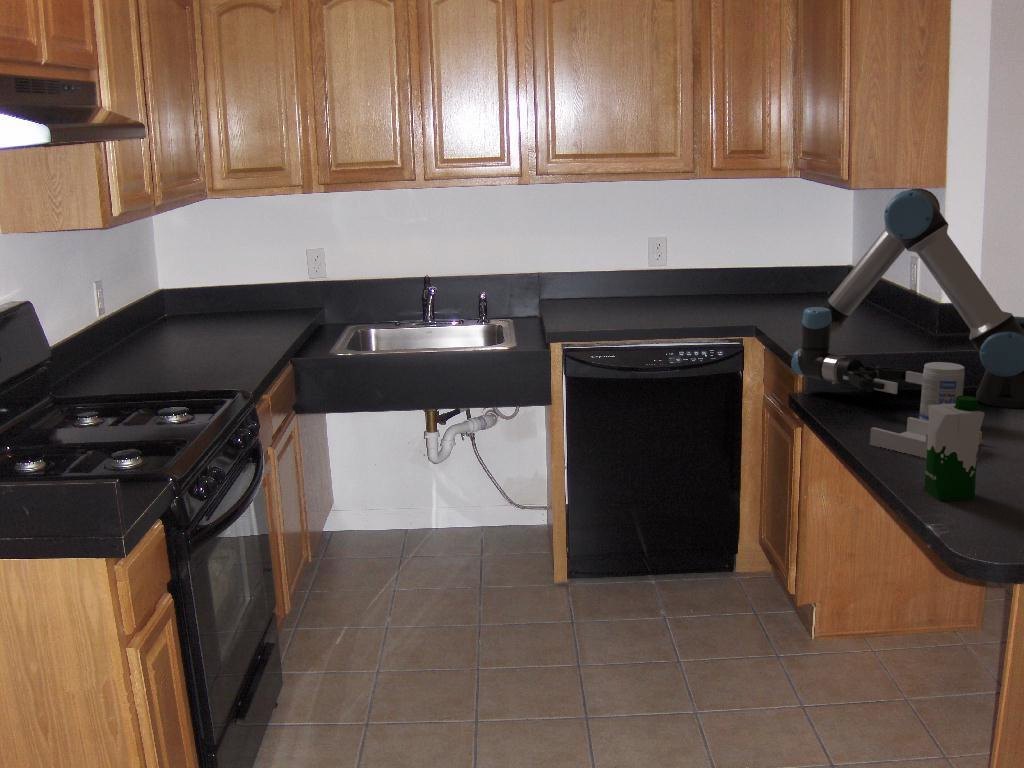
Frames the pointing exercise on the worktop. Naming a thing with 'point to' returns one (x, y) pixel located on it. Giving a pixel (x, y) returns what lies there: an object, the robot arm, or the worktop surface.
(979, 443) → the clip
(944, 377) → the supplement tub
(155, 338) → the worktop surface
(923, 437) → the end holder
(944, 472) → the milk carton
